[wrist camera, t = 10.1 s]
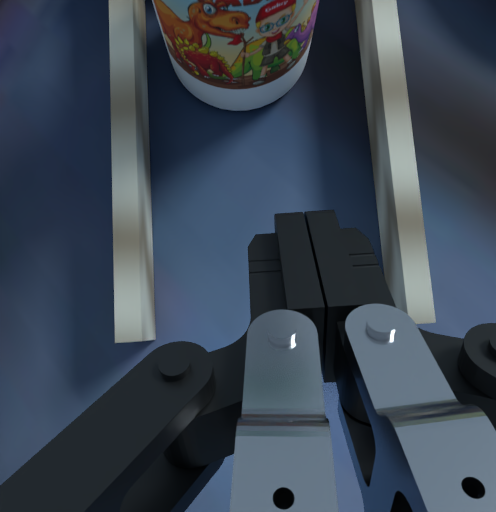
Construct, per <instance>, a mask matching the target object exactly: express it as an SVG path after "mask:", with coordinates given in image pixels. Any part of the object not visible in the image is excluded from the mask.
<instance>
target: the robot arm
mask: <svg viewBox="0 0 496 512" xmlns="http://www.w3.org/2000/svg"><path fill="white" fill-rule="evenodd" d="M274 220H275V233H271V234H256V235H255V236H254V238H253V240H252V241H251V243H250V244H249V246H248V261H249V285H250V309H251V321H250V325H249V327H248V329H247V331H246V332H245V334H244V335H243V336H242V337H241V338H240V339H238V340H237V341H236V342H234V343H232V344H231V345H229V346H226V347H224V348H221V349H218V350H215V351H212V352H209V353H208V352H207V351H206V350H205V349H204V348H203V347H201V346H200V345H198V344H195V343H192V342H185V341H179V342H172V343H168V344H165V345H163V346H160V347H158V348H157V349H155V350H154V351H152V352H151V353H150V354H149V355H147V356H146V357H145V358H144V359H143V360H142V361H141V362H140V363H138V364H137V365H136V366H135V367H134V368H133V369H132V370H131V371H129V372H128V373H127V374H126V375H125V376H124V377H123V378H121V379H120V380H119V381H118V382H117V383H116V384H115V385H114V386H112V387H111V388H110V389H109V390H108V391H107V392H106V393H104V394H103V395H102V396H101V397H100V398H99V399H98V400H97V401H95V402H94V403H93V404H92V405H91V406H90V407H89V408H88V409H86V410H85V411H84V412H83V413H82V414H81V415H80V416H78V417H77V418H76V419H75V420H74V421H73V422H72V423H71V424H69V425H68V426H67V427H66V428H65V429H64V430H63V431H62V432H60V433H59V434H58V435H57V436H56V437H55V438H54V439H52V440H51V441H50V442H49V443H48V444H47V445H46V446H45V447H43V448H42V449H41V450H40V451H39V452H38V453H37V454H35V455H34V456H33V457H32V458H31V459H30V460H29V461H28V462H26V463H25V464H24V465H23V466H22V467H21V468H20V469H19V470H17V471H16V472H15V473H14V474H13V475H12V476H11V477H9V478H8V479H7V480H6V481H5V482H4V483H3V484H2V485H0V512H185V510H186V509H187V508H188V507H189V505H190V504H191V503H192V502H193V500H194V499H195V498H196V497H197V495H198V494H199V493H200V492H201V490H202V489H203V488H204V487H205V485H206V484H207V483H208V482H209V480H210V479H211V478H212V476H213V475H214V474H215V473H216V471H217V470H218V469H219V468H220V466H221V465H222V463H223V461H224V459H225V457H227V456H230V455H232V454H234V464H233V476H232V489H231V502H230V512H338V502H337V493H336V483H335V473H334V463H333V453H332V443H331V433H330V426H329V421H328V418H326V416H325V407H324V397H323V386H322V374H323V379H324V383H326V382H336V384H337V389H338V393H339V400H338V414H339V418H340V421H341V425H342V428H343V432H344V435H345V438H346V442H347V445H348V449H349V452H350V455H351V459H352V462H353V466H354V469H355V472H356V476H357V479H358V483H359V486H360V490H361V493H362V498H363V503H364V512H496V323H487V324H481V325H477V326H475V327H473V328H471V329H470V330H469V331H468V332H467V333H466V335H465V337H464V339H461V338H456V337H450V336H445V335H439V334H434V333H430V332H427V331H424V330H422V329H420V328H418V327H417V326H416V324H415V322H414V321H413V319H412V318H411V317H410V316H409V315H408V314H406V313H405V312H403V311H402V310H400V309H398V308H397V307H396V305H395V303H394V300H393V298H392V295H391V293H390V290H389V288H388V285H387V283H386V280H385V278H384V275H383V273H382V271H381V268H380V266H379V263H378V261H377V258H376V256H375V255H374V251H373V248H372V246H371V244H370V241H369V239H368V238H367V237H366V236H365V235H363V234H362V233H361V232H360V231H359V230H358V229H356V228H344V229H340V227H339V224H338V220H337V217H336V214H335V212H334V210H323V211H308V212H305V213H304V214H303V212H295V213H280V214H275V216H274Z"/></svg>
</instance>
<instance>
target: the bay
mask: <svg viewBox="0 0 496 512" xmlns="http://www.w3.org/2000/svg"><path fill="white" fill-rule="evenodd" d="M355 9H356V18H357V28H358V37H359V46H360V55H361V65H362V74H363V83H364V92H365V102H366V111H367V120H368V129H369V138H370V148H371V157H372V166H373V175H374V185H375V194H376V203H377V212H378V222H379V231H380V240H381V249H382V258H383V268H384V277H385V280H386V283H387V285H388V288H389V290H390V293H391V295H392V298H393V300H394V303H395V305H396V307H397V308H398V309H400V310H402V311H403V312H405V313H406V314H408V315H409V316H410V317H411V318H412V319H413V321H414V322H415V324H422V323H436V320H435V312H434V303H433V295H432V287H431V279H430V271H429V263H428V255H427V247H426V239H425V231H424V223H423V214H422V206H421V198H420V190H419V182H418V174H417V166H416V158H415V150H414V142H413V133H412V125H411V117H410V109H409V101H408V93H407V85H406V77H405V69H404V61H403V53H402V44H401V36H400V28H399V20H398V12H397V4H396V0H355ZM109 41H110V95H111V150H112V205H113V260H114V315H115V343H122V342H138V341H148V340H156V336H155V304H154V273H153V241H152V209H151V177H150V146H149V114H148V82H147V50H146V19H145V0H109Z"/></svg>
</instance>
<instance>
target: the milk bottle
mask: <svg viewBox="0 0 496 512" xmlns="http://www.w3.org/2000/svg"><path fill="white" fill-rule="evenodd" d="M152 2H153V6H154V9H155V12H156V15H157V19H158V22H159V25H160V28H161V32H162V35H163V38H164V41H165V44H166V48H167V51H168V54H169V57H170V60H171V62H172V65H173V68H174V70H175V72H176V74H177V76H178V78H179V80H180V81H181V83H182V84H183V85H184V86H185V88H186V89H187V90H188V91H189V92H190V93H192V94H193V95H194V96H195V97H197V98H198V99H200V100H201V101H203V102H205V103H207V104H209V105H212V106H215V107H217V108H220V109H226V110H232V111H247V110H251V109H256V108H261V107H263V106H265V105H268V104H270V103H272V102H274V101H275V100H277V99H279V98H280V97H282V96H283V95H284V94H286V93H287V92H288V91H289V90H290V89H291V88H292V87H293V86H294V84H295V83H296V82H297V80H298V79H299V77H300V76H301V74H302V72H303V69H304V67H305V64H306V61H307V57H308V53H309V49H310V44H311V40H312V35H313V30H314V25H315V20H316V15H317V10H318V5H319V0H152Z"/></svg>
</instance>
